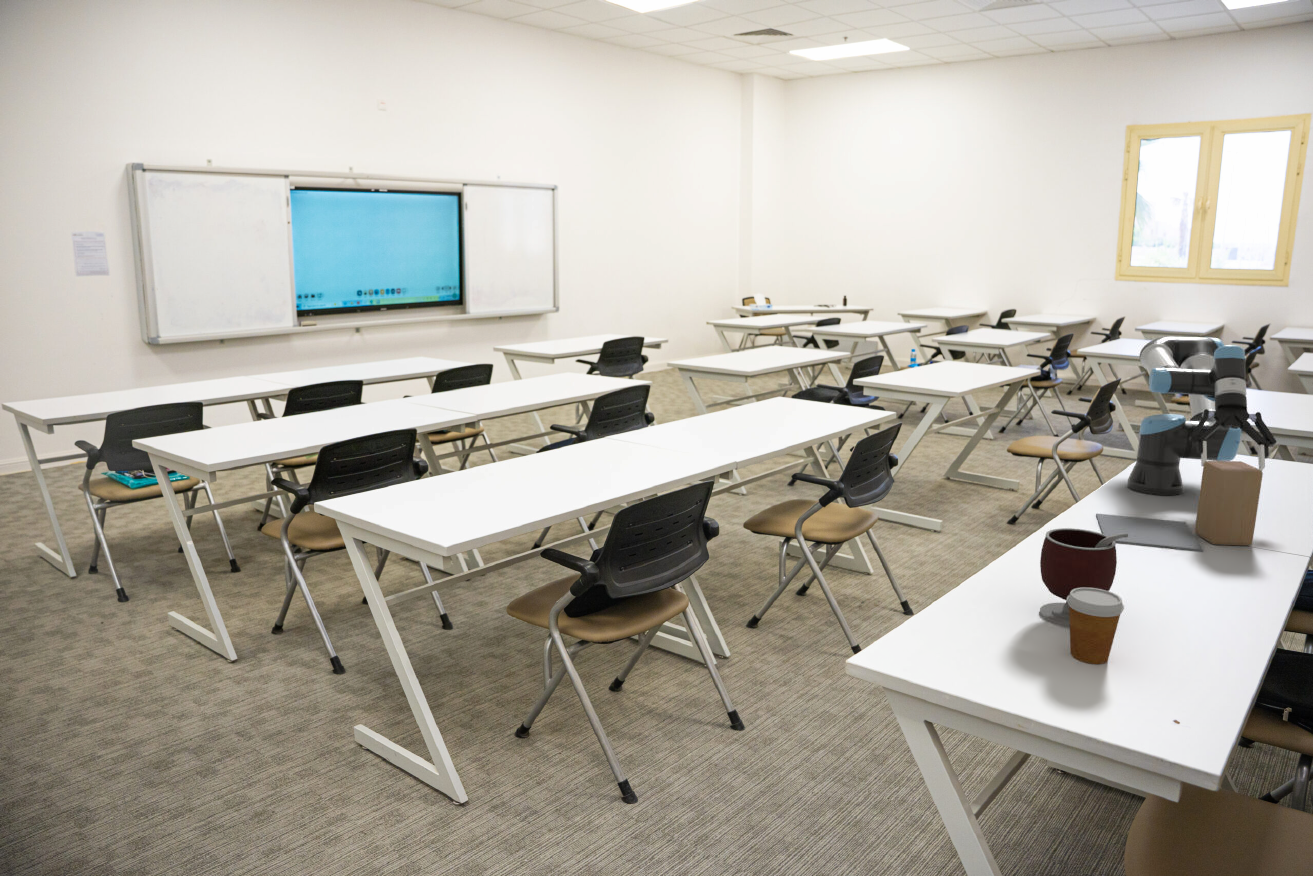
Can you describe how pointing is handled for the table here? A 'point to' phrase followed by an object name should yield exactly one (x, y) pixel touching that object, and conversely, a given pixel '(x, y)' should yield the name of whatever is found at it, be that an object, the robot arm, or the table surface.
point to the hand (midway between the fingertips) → (1232, 466)
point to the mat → (1149, 531)
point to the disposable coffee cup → (1093, 623)
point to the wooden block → (1228, 502)
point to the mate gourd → (1075, 566)
